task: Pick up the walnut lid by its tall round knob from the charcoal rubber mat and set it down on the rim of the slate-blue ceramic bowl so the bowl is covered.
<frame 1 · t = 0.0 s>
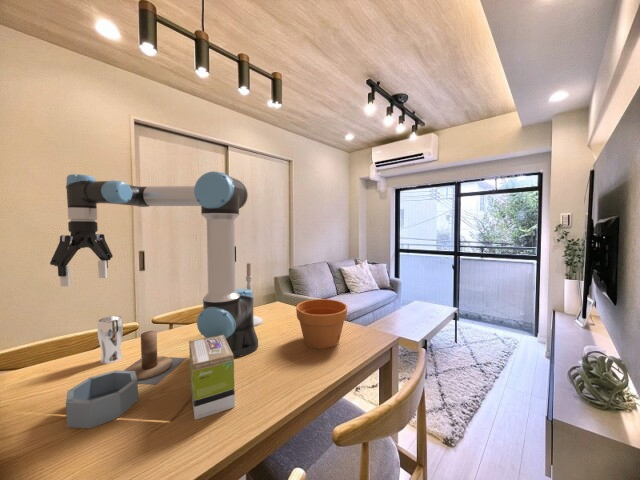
hand: (85, 281, 93), 28 cm above the table, fingers open, 13 cm apart
lid: (149, 369, 88), resting on mat
bowl: (104, 407, 70), on the table
flower pot: (321, 341, 110), on the table
candlestick: (249, 322, 131), on the table
mat: (149, 370, 88), on the table
tea box: (211, 398, 74), on the table
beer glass: (111, 360, 94), on the table
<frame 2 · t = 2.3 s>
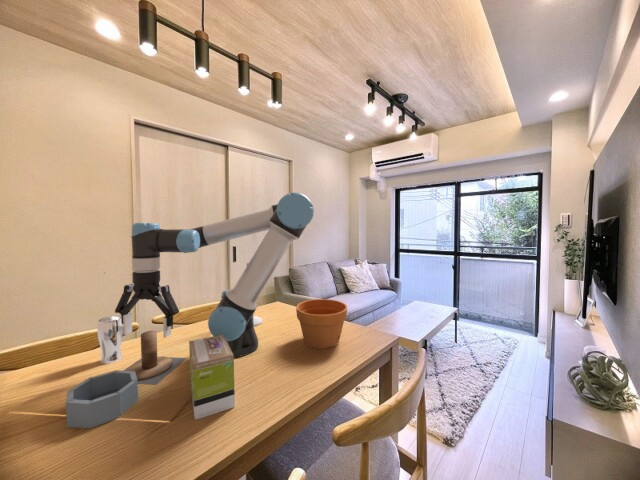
hand: (147, 334, 87), 12 cm above the table, fingers open, 13 cm apart
nothing on the table moved.
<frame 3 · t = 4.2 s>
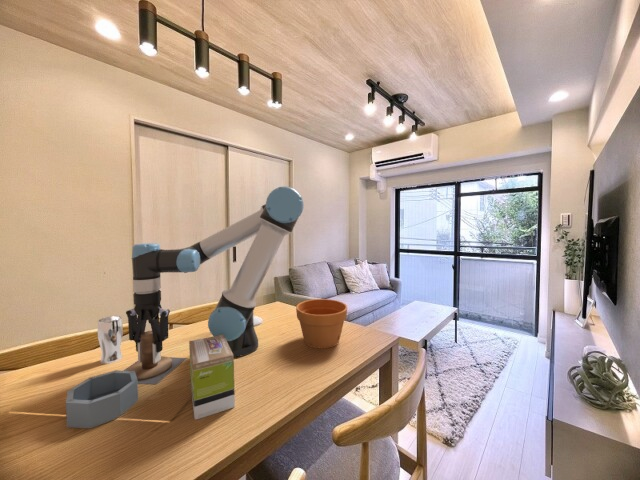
hand: (149, 360, 87), 3 cm above the table, fingers closed on lid, 4 cm apart
lid: (149, 368, 88), resting on mat, touching gripper
everything else where it was.
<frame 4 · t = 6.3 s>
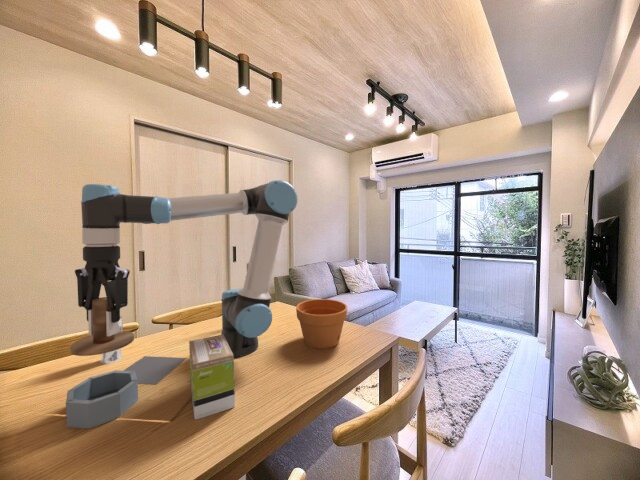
hand: (103, 333, 70), 19 cm above the table, fingers closed on lid, 4 cm apart
lid: (104, 344, 70), point 16 cm above the table, touching gripper
everything else where it was.
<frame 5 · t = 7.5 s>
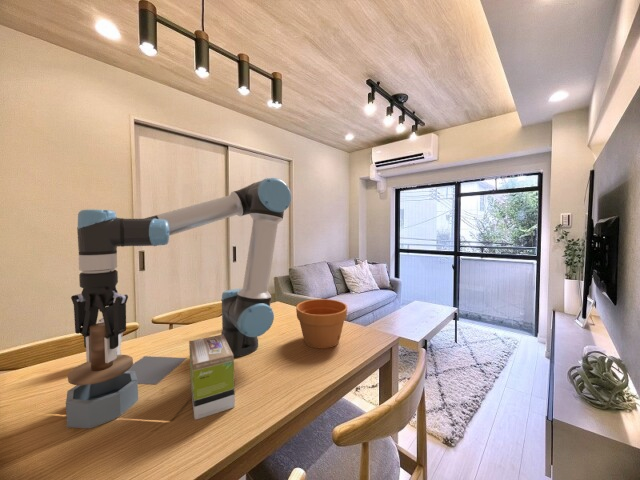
hand: (101, 359, 69), 13 cm above the table, fingers closed on lid, 4 cm apart
lid: (102, 370, 69), point 10 cm above the table, touching gripper
everything else where it was.
when the fingers open (10 cm above the table, at t = 8.6 s): lid drops 1 cm, resting on bowl.
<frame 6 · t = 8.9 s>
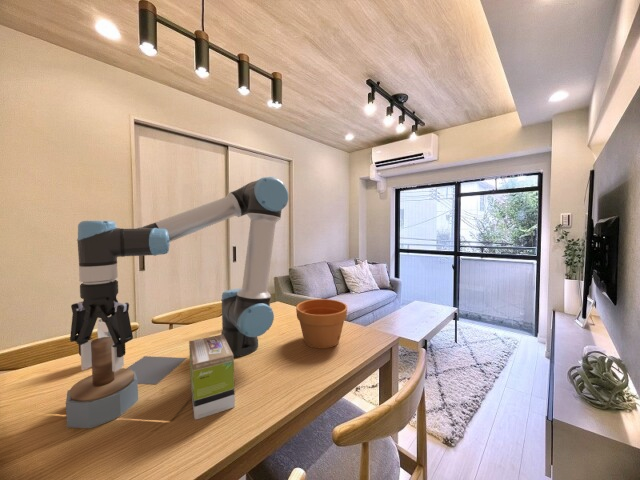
hand: (103, 367, 69), 11 cm above the table, fingers open, 8 cm apart
lid: (103, 385, 69), point 6 cm above the table, touching bowl
everything else where it was.
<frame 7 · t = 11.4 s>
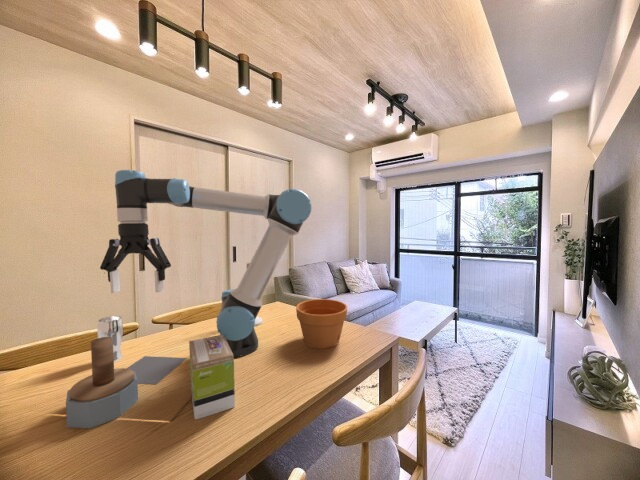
hand: (137, 291, 82), 27 cm above the table, fingers open, 13 cm apart
nothing on the table moved.
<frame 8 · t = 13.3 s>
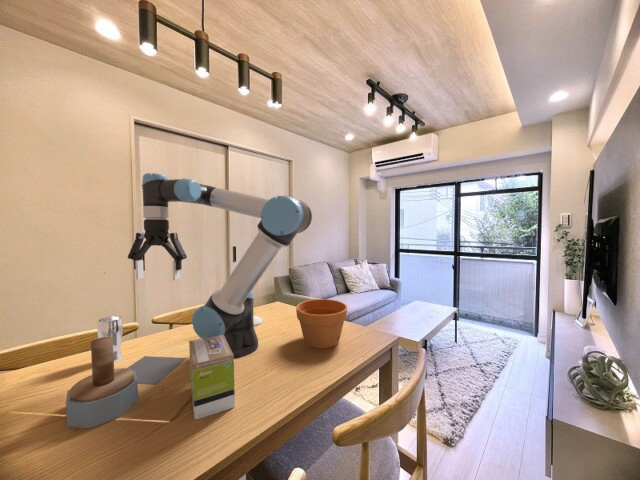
hand: (158, 279, 94), 29 cm above the table, fingers open, 13 cm apart
nothing on the table moved.
at the end: lid 0.0 cm off-centre on the bowl, point 6.0 cm above the bowl's base; lid tilted 0°; the gripper is holding nothing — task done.
